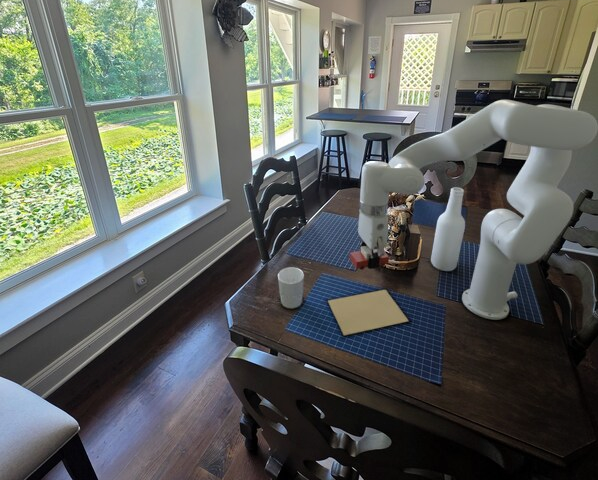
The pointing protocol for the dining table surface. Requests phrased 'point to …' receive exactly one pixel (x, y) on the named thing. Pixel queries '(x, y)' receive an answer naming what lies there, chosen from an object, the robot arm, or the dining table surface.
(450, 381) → the dining table surface
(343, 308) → the mat
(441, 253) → the alcohol
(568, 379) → the dining table surface
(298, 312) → the dining table surface
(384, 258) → the toy car
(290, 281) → the white cup
